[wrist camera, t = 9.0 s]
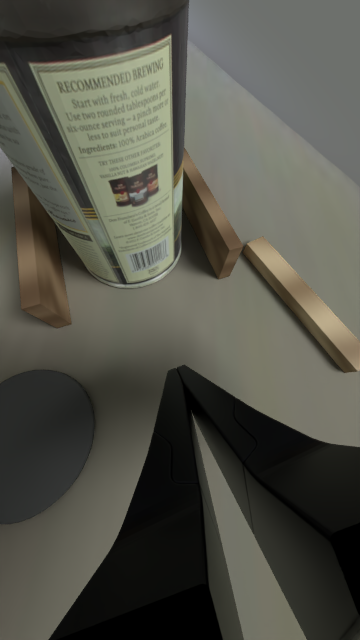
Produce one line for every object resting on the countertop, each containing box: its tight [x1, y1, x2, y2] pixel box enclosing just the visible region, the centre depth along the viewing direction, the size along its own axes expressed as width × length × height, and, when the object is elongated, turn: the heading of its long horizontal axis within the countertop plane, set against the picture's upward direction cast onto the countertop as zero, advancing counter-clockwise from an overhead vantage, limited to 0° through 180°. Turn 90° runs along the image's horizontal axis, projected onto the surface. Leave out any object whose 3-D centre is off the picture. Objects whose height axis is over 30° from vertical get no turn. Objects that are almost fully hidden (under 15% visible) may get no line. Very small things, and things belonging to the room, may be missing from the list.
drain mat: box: [0, 370, 94, 524], centre depth 13 cm, size 9×9×1 cm
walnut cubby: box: [11, 148, 243, 328], centre depth 18 cm, size 15×16×4 cm
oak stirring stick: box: [243, 236, 360, 373], centre depth 17 cm, size 14×2×2 cm, turn 30°
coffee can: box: [0, 0, 189, 288], centre depth 13 cm, size 10×10×14 cm
